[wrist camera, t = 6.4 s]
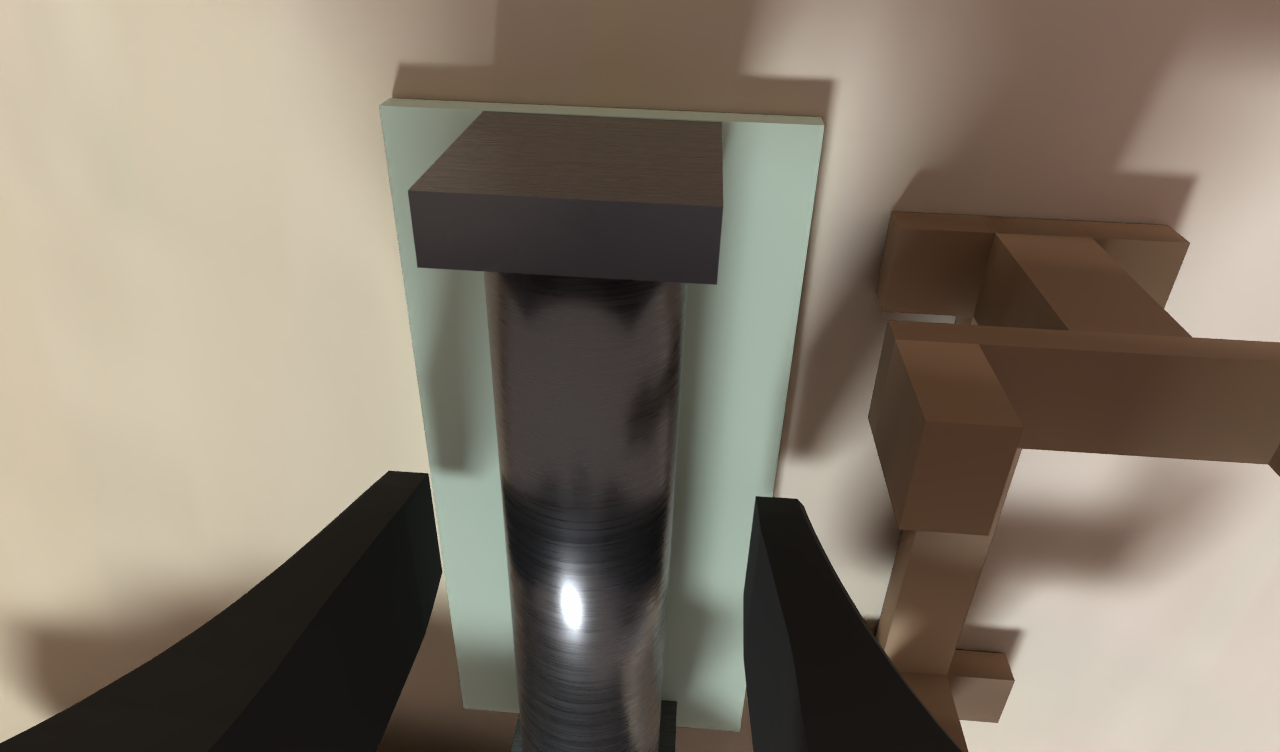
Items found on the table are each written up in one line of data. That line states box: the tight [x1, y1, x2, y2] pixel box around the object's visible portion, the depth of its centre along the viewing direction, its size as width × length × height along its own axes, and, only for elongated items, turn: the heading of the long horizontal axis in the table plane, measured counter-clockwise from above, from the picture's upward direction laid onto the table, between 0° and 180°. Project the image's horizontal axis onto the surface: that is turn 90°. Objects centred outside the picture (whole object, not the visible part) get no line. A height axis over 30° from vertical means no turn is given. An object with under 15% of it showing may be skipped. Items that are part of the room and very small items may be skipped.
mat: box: [379, 98, 825, 732], centre depth 14 cm, size 12×6×1 cm, turn 179°
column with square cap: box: [408, 111, 723, 752], centre depth 12 cm, size 12×3×3 cm, turn 178°
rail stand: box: [868, 211, 1280, 752], centre depth 11 cm, size 10×5×5 cm, turn 179°
